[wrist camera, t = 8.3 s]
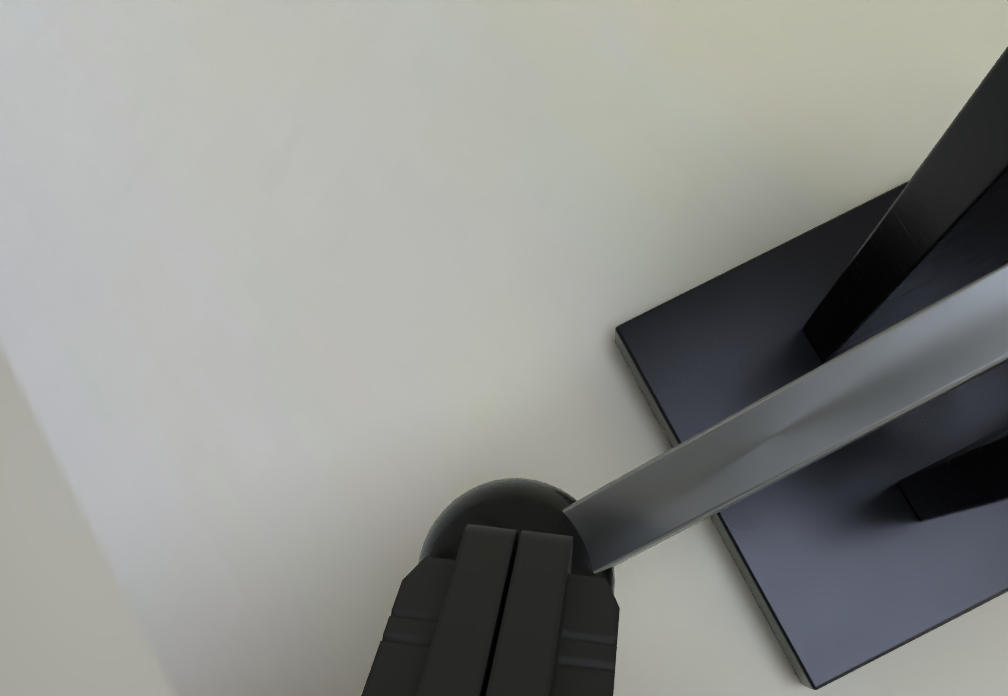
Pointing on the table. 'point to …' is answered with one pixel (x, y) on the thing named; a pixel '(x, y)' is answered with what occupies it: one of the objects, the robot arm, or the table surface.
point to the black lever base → (880, 454)
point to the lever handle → (753, 438)
